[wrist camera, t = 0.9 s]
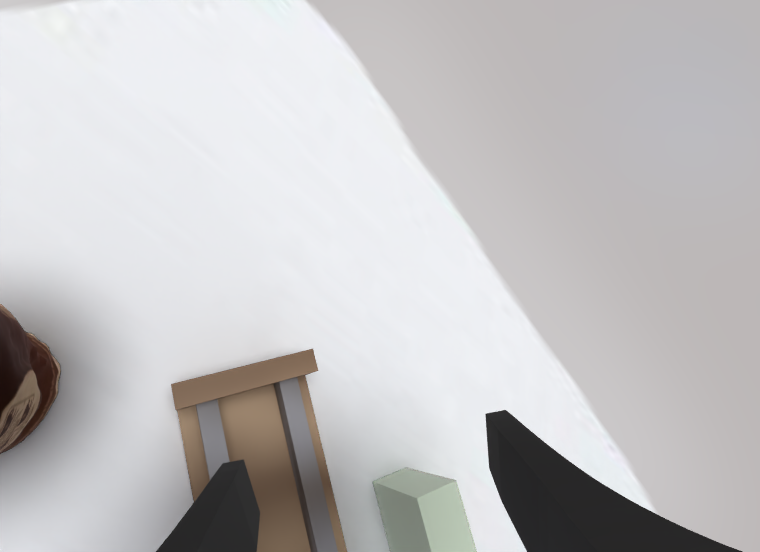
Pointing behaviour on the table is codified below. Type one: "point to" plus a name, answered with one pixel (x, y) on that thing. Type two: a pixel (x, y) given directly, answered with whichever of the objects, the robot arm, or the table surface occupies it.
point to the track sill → (264, 448)
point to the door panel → (423, 513)
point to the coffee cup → (23, 381)
